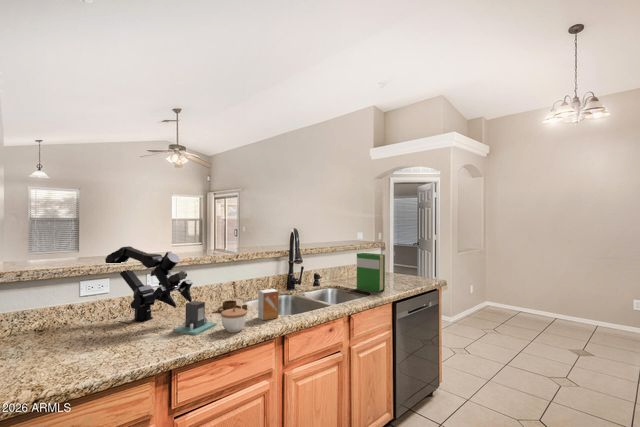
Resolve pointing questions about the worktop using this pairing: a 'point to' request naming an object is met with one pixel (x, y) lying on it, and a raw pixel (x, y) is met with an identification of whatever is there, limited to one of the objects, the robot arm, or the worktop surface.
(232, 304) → the place setting
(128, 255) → the robot arm
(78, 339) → the worktop surface
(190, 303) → the plate
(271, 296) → the small box
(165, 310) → the worktop surface
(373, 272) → the hardback book
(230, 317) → the lidded jar
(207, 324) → the pin tray
